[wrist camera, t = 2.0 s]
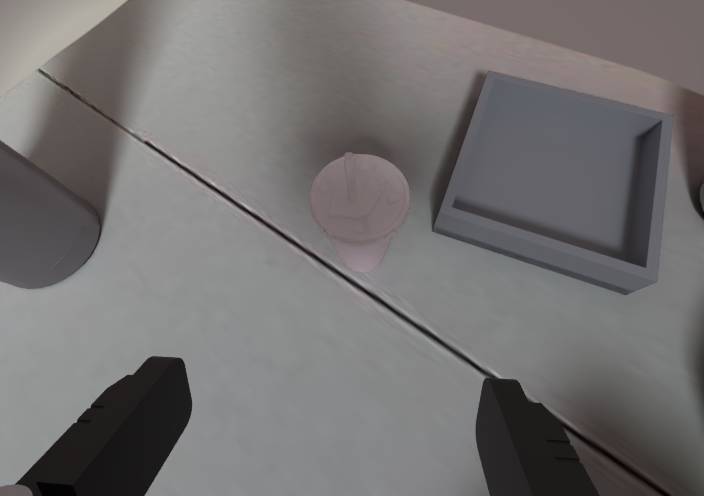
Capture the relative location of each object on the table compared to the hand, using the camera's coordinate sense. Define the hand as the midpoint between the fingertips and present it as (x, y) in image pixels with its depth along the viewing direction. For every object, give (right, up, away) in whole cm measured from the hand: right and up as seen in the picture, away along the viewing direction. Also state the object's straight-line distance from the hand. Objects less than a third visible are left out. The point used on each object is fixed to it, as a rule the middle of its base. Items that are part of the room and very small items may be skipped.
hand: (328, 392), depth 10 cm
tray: (+18, +10, +24) cm, 31 cm away
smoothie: (+2, +3, +22) cm, 23 cm away
